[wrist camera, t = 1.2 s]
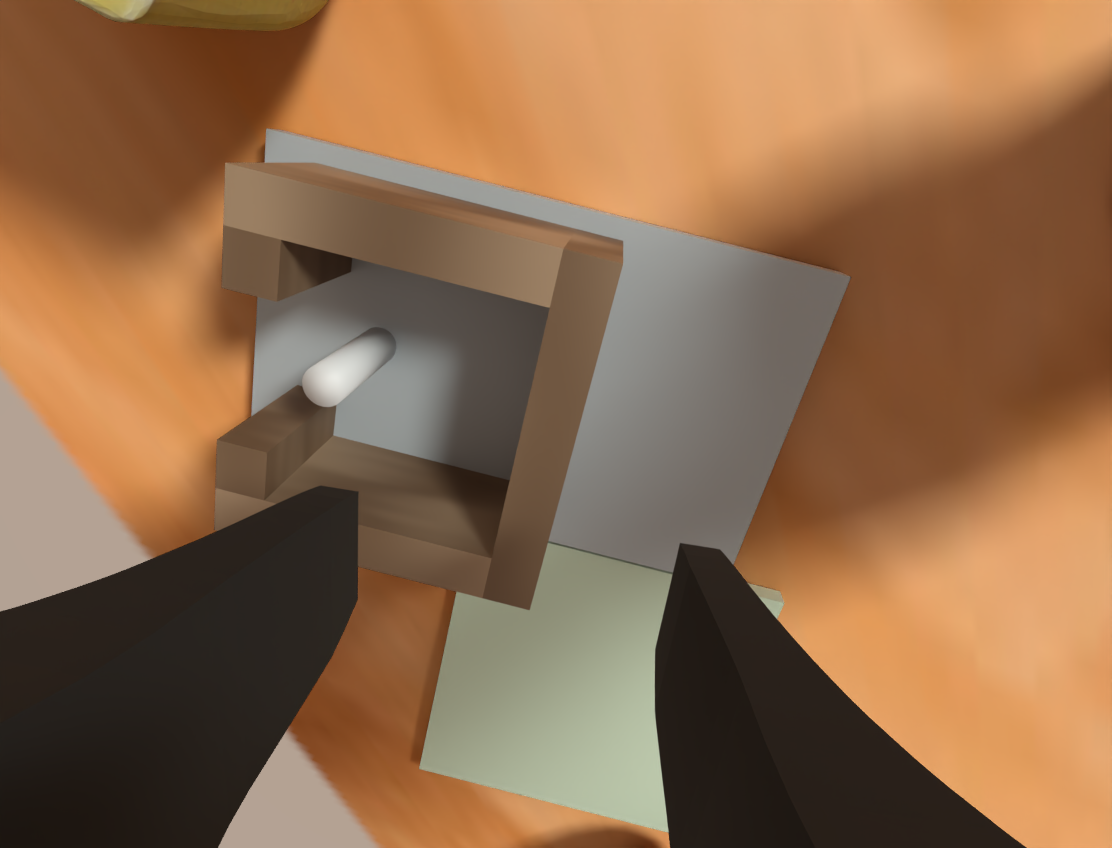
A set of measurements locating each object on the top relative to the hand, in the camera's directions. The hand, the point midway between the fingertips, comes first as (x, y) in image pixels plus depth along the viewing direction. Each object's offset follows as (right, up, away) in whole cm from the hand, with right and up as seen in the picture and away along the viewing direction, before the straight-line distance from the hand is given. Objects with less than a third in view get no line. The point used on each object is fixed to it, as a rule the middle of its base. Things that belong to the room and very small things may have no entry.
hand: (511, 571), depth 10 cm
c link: (-2, +4, +8) cm, 9 cm away
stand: (0, +4, +9) cm, 9 cm away
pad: (+2, -7, +13) cm, 14 cm away
